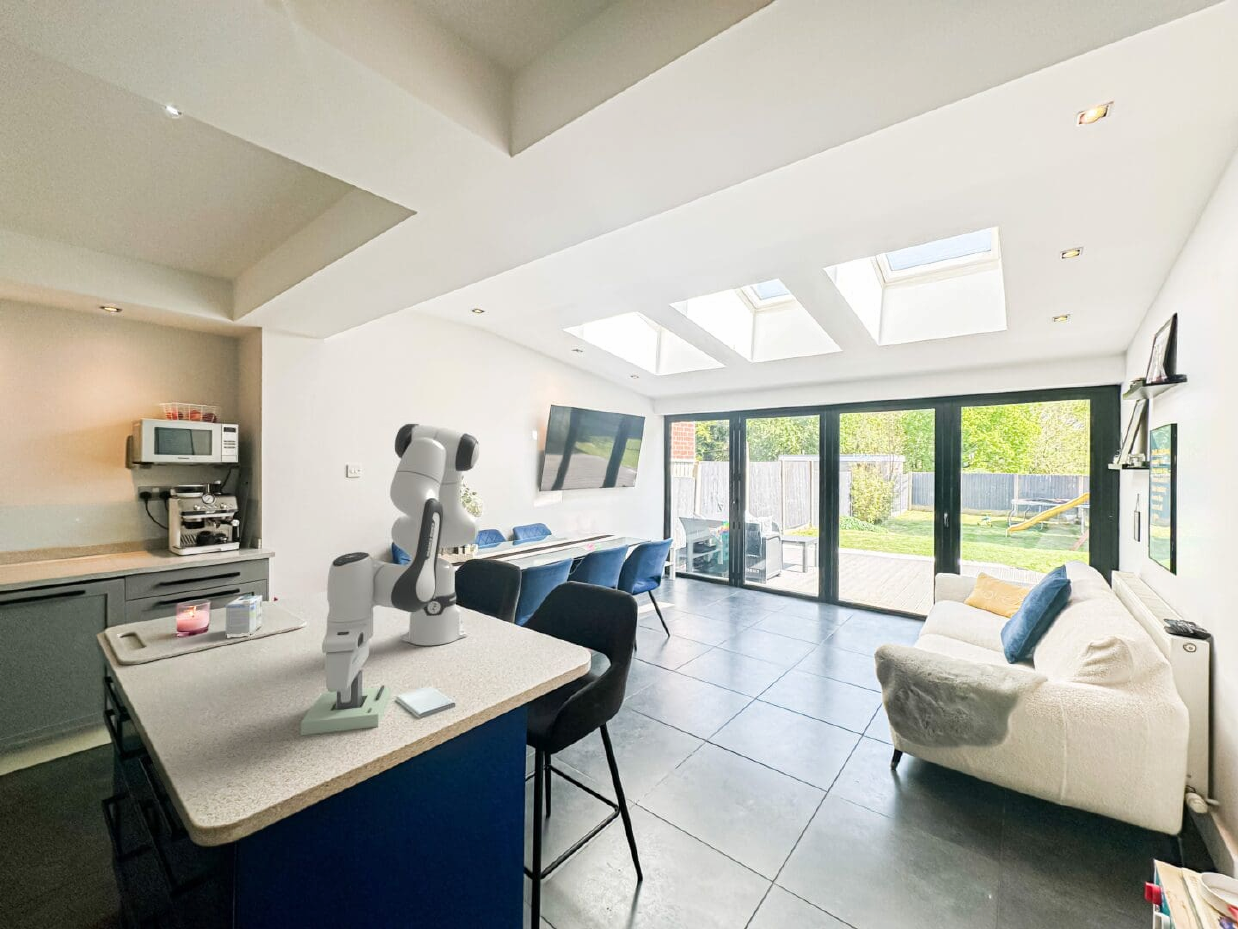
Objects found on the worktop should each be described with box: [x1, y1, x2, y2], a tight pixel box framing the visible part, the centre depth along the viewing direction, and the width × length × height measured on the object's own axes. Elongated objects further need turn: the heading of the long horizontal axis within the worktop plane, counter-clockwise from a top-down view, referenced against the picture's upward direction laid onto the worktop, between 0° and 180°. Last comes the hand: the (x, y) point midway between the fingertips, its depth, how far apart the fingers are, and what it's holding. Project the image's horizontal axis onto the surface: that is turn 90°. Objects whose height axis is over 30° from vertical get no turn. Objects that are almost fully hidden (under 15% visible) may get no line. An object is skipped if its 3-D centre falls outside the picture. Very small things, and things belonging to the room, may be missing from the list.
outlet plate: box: [300, 685, 392, 736], centre depth 109 cm, size 14×14×3 cm
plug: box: [337, 669, 363, 710], centre depth 109 cm, size 4×4×7 cm
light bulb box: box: [225, 595, 263, 636], centre depth 164 cm, size 11×7×11 cm, turn 17°
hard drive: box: [395, 685, 456, 720], centre depth 114 cm, size 2×8×12 cm
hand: (349, 695), depth 109 cm, fingers closed on plug, 4 cm apart
